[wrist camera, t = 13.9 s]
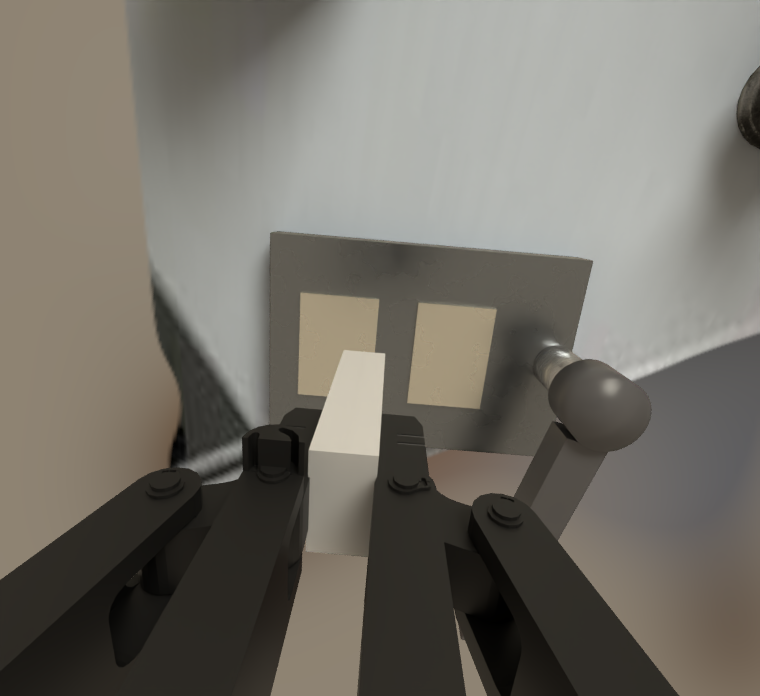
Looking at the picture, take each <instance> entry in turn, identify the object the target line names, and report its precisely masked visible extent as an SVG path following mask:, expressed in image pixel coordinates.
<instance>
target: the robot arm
mask: <svg viewBox="0 0 760 696" xmlns="http://www.w3.org/2000/svg"><path fill="white" fill-rule="evenodd" d="M384 366H385V353H373V352H361V351H350V350H344V351H343V354H342V357H341V359H340V362H339V365H338V368H337V371H336V374H335V376H334V379H333V382H332V385H331V388H330V391H329V394H328V396H327V399H326V402H325V405H324V408H323V410H319V409H308V408H294V409H293V410H291V411H290V412H288V413H287V414H285V415H284V417H283V419H282V421H281V423H280V424H275V425H265V426H260V427H257V428H255V429H252V430H250V431H248V432H247V433H246V434H245V435H244V436H243V437H242V451H243V472H242V473H241V475H240V477H239V479H237V480H234V481H231V482H225V483H219V484H211V485H203V486H202V482H201V478H200V476H199V475H198V473H197V472H194V471H192V470H190V469H186V468H178V467H176V468H166V469H161V470H159V471H155V472H152V473H149V474H147V475H146V476H144V477H142V478H140V479H138V480H137V481H136V482H134V483H133V484H132V485H130V486H129V487H127V488H126V489H125V490H123V491H122V492H121V493H119V494H118V495H116V496H115V497H114V498H112V499H111V500H110V501H108V502H107V503H105V504H104V505H103V506H101V507H100V508H99V509H97V510H96V511H94V512H93V513H92V514H90V515H89V516H88V517H86V518H85V519H84V520H82V521H81V522H80V523H78V524H77V525H75V526H74V527H73V528H71V529H70V530H68V531H67V532H66V533H64V534H63V535H61V536H60V537H59V538H57V539H56V540H55V541H53V542H52V543H50V544H49V545H48V546H46V547H45V548H44V549H42V550H41V551H39V552H38V553H37V554H35V555H34V556H33V557H31V558H30V559H28V560H27V561H26V562H24V563H23V564H22V565H20V566H19V567H17V568H16V569H15V570H14V571H12V572H11V573H9V574H8V575H6V576H5V577H4V578H2V579H1V580H0V696H270V695H271V690H272V687H273V683H274V679H275V675H276V671H277V667H278V663H279V658H280V655H281V651H282V647H283V643H284V639H285V635H286V631H287V627H288V623H289V619H290V615H291V611H292V607H293V603H294V599H295V595H296V591H297V587H298V583H299V579H300V575H301V571H302V551H303V548H304V544H305V540H306V552H317V553H328V554H340V555H351V556H362V557H368V565H367V577H366V588H365V599H364V616H363V628H362V640H361V653H360V666H359V679H358V692H357V696H466V693H465V685H464V679H463V671H462V664H461V657H460V650H459V644H458V636H457V630H456V623H455V616H454V610H455V615H456V619H457V621H458V624H459V626H460V629H461V631H462V634H463V636H464V639H465V641H466V643H467V646H468V648H469V651H470V653H471V656H472V659H473V661H474V664H475V666H476V669H477V671H478V673H479V676H480V679H481V681H482V684H483V686H484V689H485V691H486V693H487V696H679V695H678V694H677V692H676V691H675V690H674V689H673V687H671V685H670V684H669V682H668V681H667V680H666V678H665V677H664V676H663V675H662V673H661V672H660V671H659V670H658V668H657V667H656V666H655V665H654V663H653V662H652V661H651V659H650V658H649V657H648V656H647V654H646V653H645V652H644V650H643V649H642V648H641V647H640V645H639V644H638V643H637V642H636V640H635V639H634V638H633V636H632V635H631V634H630V633H629V631H628V630H627V629H626V628H625V626H624V625H623V624H622V622H621V621H620V620H619V619H618V617H617V616H616V615H615V614H614V612H613V611H612V610H611V608H610V607H609V606H608V605H607V603H606V602H605V601H604V600H603V598H602V597H601V596H600V595H599V593H598V592H597V591H596V589H595V588H594V587H593V586H592V584H591V583H590V582H589V581H588V579H587V578H586V577H585V575H584V574H583V573H582V572H581V570H580V569H579V568H578V566H577V565H576V564H575V563H574V561H573V560H572V559H571V558H570V556H569V555H568V554H567V553H566V551H565V550H564V549H563V547H562V546H561V545H560V544H559V542H558V541H557V540H556V538H555V537H554V536H553V535H552V533H551V532H550V531H549V530H548V528H547V527H546V526H545V524H544V523H543V522H542V521H541V519H540V518H539V517H538V516H537V514H536V513H535V512H534V511H533V510H532V509H531V508H530V507H529V506H528V505H527V504H525V503H523V502H522V501H520V500H518V499H516V498H514V497H511V496H507V495H504V494H493V493H490V494H485V495H481V496H479V497H478V498H477V499H476V500H474V502H473V505H472V506H469V505H465V504H462V503H459V502H456V501H454V500H451V499H449V498H447V497H445V496H444V495H442V494H440V493H439V492H438V491H437V490H436V486H435V484H434V481H433V479H431V478H430V477H429V472H428V464H427V456H426V448H425V440H424V433H423V426H422V424H421V423H420V422H419V421H418V420H417V419H416V418H415V416H403V415H392V414H382V399H383V383H384ZM133 576H134V577H133ZM132 577H133V578H132ZM131 578H132V579H131ZM453 608H454V609H453Z"/></svg>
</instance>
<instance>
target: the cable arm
mask: <svg viewBox="0 0 760 696" xmlns="http://www.w3.org/2000/svg"><path fill="white" fill-rule="evenodd" d="M548 401H549V405H550V407H551V409H552V411H553V412H554V414H555V415H556V416H557V417H558V418H559V420H560V421H561V422H562V423H563V424H562V423H558V422H555V421H552V422H551V424H550V426H549V428H548V430H547V432H546V434H545V436H544V438H543V440H542V442H541V444H540V446H539V448H538V450H537V452H536V454H535V456H534V458H533V460H532V462H531V464H530V466H529V468H528V470H527V472H526V474H525V476H524V478H523V480H522V482H521V484H520V486H519V487H518V489H517V492H516V493H515V495H514V498H516V499H518V500H520V501H522V502H523V503H525V504H527V505H528V506H529V507H530V508H531V509H532V510H533V511H534V512H535V513H536V514H537V516H538V517H539V518H540V519H541V521H542V522H543V523H544V524H545V526H546V527H547V528H548V530H549V531H550V532H551V533H552V535H553V536H554V537H555V538H556V540H557V541H558V539H559V537H560V536H561V534H562V532H563V530H564V529H565V527H566V525H567V523H568V522H569V520H570V518H571V516H572V515H573V513H574V511H575V509H576V507H577V506H578V504H579V502H580V500H581V499H582V497H583V495H584V493H585V492H586V490H587V488H588V486H589V484H590V483H591V481H592V479H593V477H594V476H595V474H596V472H597V470H598V469H599V467H600V465H601V463H602V461H603V460H604V458H605V456H606V455H607V453H608V452H609V451H615V450H619V449H622V448H624V447H626V446H628V445H630V444H632V443H633V442H634V441H636V440H637V439H638V438H639V437H640V436H641V435H642V433H643V432H644V431H645V429H646V428H647V426H648V424H649V421H650V418H651V403H650V400H649V397H648V396H647V394H646V393H645V391H644V390H643V389H642V388H641V387H639V386H638V385H636V384H635V383H634V382H632V381H631V380H629V379H628V378H626V377H625V376H623V375H622V374H620V373H619V372H618V371H616V370H615V369H613V368H612V367H610V366H609V365H607V364H606V363H604V362H601V361H598V360H592V359H585V360H579V361H576V362H573V363H571V364H569V365H567V366H566V367H564V368H563V369H562V370H560V371H559V372H558V373H557V374H556V376H555V377H554V379H553V380H552V382H551V384H550V387H549V391H548ZM458 625H459V624H458ZM459 630H460V636H461V639H462V640H465V639H464V636H463V634H462V631H461V629H460V626H459Z"/></svg>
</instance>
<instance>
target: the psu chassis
mask: <svg viewBox="0 0 760 696" xmlns="http://www.w3.org/2000/svg"><path fill="white" fill-rule="evenodd" d="M592 264H593V261H592V260H588V259H583V258H579V257H567V256H556V255H544V254H533V253H521V252H510V251H498V250H487V249H475V248H464V247H453V246H441V245H430V244H418V243H407V242H395V241H384V240H372V239H361V238H349V237H338V236H326V235H315V234H303V233H292V232H280V231H277V232H271V233H270V425H275V424H280V423H281V421H282V419H283V417H284V415H285V414H287V413H288V412H290V411H291V410H293V409H294V408H308V409H319V410H323V408H324V405H325V402H326V399H327V396H328V394H329V391H330V388H331V385H332V382H333V379H334V376H335V374H336V371H337V368H338V365H339V362H340V359H341V357H342V354H343V351H344V350H350V351H361V352H373V353H385V366H384V383H383V399H382V414H392V415H403V416H415V418H416V419H417V420H418V421H419V422H420V423H421V424H422V426H423V433H424V440H425V447H426V448H438V449H450V450H464V451H477V452H488V453H500V454H513V455H525V456H535V454H536V452H537V450H538V448H539V446H540V444H541V442H542V440H543V438H544V436H545V434H546V432H547V430H548V428H549V426H550V424H551V422H552V421H556V417H557V416H556V415H555V414H554V412H553V411H552V409H551V407H550V405H549V401H548V391H549V387H550V384H551V382H552V380H553V379H554V377H555V376H556V374H557V373H558V372H559V371H560V370H562V369H563V368H564V367H566V366H567V365H569V364H571V363H573V362H576V361H579V360H582V359H581V358H579V357H578V356H577V355H575V354H574V353H573V352H572V349H573V345H574V340H575V336H576V332H577V328H578V323H579V319H580V315H581V311H582V306H583V302H584V298H585V294H586V289H587V285H588V281H589V277H590V272H591V268H592Z"/></svg>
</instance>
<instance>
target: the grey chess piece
mask: <svg viewBox="0 0 760 696" xmlns="http://www.w3.org/2000/svg"><path fill="white" fill-rule="evenodd" d="M737 119H738V126H739V129H740V131H741V133H742V135H743V137H744V138H745V139H746V140H747V141H748V142H749V143H750V144H751V145H753V146H755V147H757V148H759V149H760V66H759V67H758V69H757V70H756V71H755V72H754V73H753V74H752V75H751V76H750V78H749V80H748V81H747V83H746V85H745V86H744V88H743V90H742V93H741V96H740V99H739V102H738V110H737Z"/></svg>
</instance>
